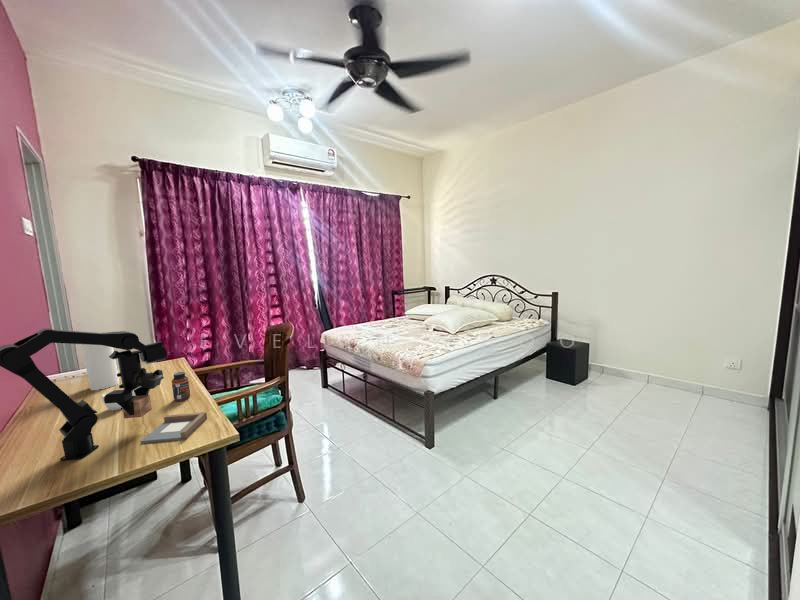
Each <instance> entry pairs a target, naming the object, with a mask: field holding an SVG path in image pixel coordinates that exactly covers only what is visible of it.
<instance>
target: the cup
mask: <svg viewBox="0 0 800 600" xmlns="http://www.w3.org/2000/svg"><path fill="white" fill-rule="evenodd" d="M114 390H115V389H113V390H110V391H107V392H105V393H102V395H101V398H102V402H103V405H104V406H105V407H106V408H107V409H109V411H112V412H113V411H114V410H115V411H119V410H122V409H121V408H122V407H121V406H120V405H119V404H117V403H107V404H105V402H104V397H105V395H106V394H108V393H110V392H112V391H114ZM116 390H124V388H119V389H116ZM132 394H133V396H136V395H135V393H134V391H133V392H132Z"/></svg>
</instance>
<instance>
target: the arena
mask: <svg viewBox="0 0 800 600" xmlns="http://www.w3.org/2000/svg"><path fill="white" fill-rule="evenodd" d="M163 419H164V421H163V422H162V423H161V424H160V425H159V426H157V428H155V429H154V430H153V431H151V432H150V433H149V434H148V435H146V436H145V437H143V438H142V439H141V440H140V444H147V443H157V442H160V443H161V442H171V441H183V440H184V441H185V440H187V439H188V438H189V437H190V436H191V435H192V434H193V433H194V432H195V431H196V430H197V429H199V427H200V426H201V425H202V424H203V423H204V422H206V420H207V419H208V414H207V411H201V412H194V413H193V412H192V413H191V412H190V413H180V414H178V413H177V414H167V415H165V416H164V417H163Z"/></svg>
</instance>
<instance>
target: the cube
mask: <svg viewBox="0 0 800 600" xmlns="http://www.w3.org/2000/svg"><path fill="white" fill-rule="evenodd" d="M135 396H136V395H135ZM133 403H134V415H129V414H128V413H127V412H126V411H125V410H124V409H123V408H122V409H121V410H122V413H123V419H134V418H143V417H144V416H145V415H146V414H148V413H149V412H151V411H152V410H153V407H152V402H151V395H150V394H148V395H143V396H136V398H135V399H134V400H133Z"/></svg>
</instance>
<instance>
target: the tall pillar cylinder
mask: <svg viewBox="0 0 800 600" xmlns="http://www.w3.org/2000/svg"><path fill="white" fill-rule="evenodd" d="M81 348H82V352H83V357H84V364H85V369H86V373H87V374H86V375H87V379H88V385H89V389H90V390H91V391H100V390H99V389H102V390H105V388H106V389H110V388H113V387H115V385H116V386H118V385H119V384H120V379H119V377H117V374H118V373H119V372H118V367H117V362H116V360H117V359H111V358H109V356H110V355H111V354H112V353H113V352H114V351H115V348H113V347H108V346H103V345H89V344H81ZM117 384H118V385H117ZM112 386H113V387H112ZM109 387H110V388H109Z"/></svg>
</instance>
